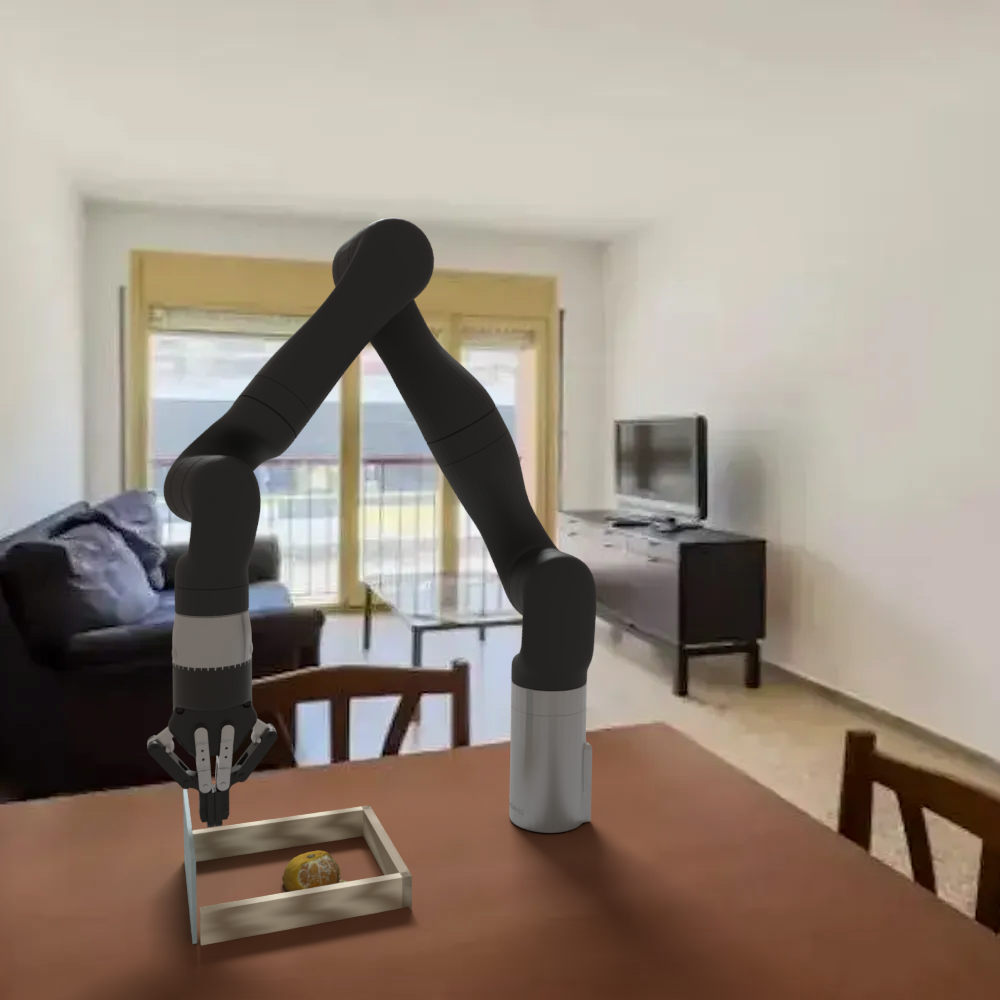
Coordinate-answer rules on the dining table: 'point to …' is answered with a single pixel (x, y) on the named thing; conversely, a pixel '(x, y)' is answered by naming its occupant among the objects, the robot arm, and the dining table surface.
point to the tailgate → (190, 866)
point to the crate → (304, 903)
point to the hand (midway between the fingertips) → (213, 823)
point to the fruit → (311, 871)
